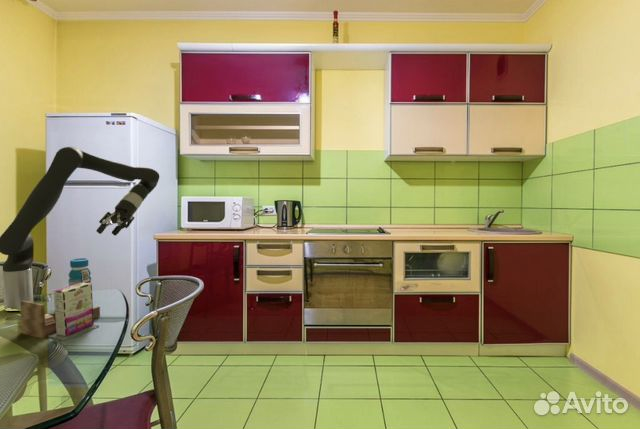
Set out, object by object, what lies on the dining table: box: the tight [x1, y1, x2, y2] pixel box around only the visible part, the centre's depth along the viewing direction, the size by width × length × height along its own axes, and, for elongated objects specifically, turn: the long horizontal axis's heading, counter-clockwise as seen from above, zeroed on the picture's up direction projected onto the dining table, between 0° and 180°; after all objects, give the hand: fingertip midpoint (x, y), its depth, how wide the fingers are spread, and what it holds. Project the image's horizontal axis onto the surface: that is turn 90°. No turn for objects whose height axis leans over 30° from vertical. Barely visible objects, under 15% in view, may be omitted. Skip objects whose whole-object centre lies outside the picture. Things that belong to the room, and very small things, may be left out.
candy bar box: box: [53, 282, 95, 336], centre depth 126 cm, size 11×5×16 cm, turn 165°
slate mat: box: [47, 323, 100, 342], centre depth 126 cm, size 8×13×1 cm, turn 161°
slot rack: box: [20, 300, 101, 340], centre depth 132 cm, size 11×22×12 cm, turn 161°
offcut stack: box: [45, 313, 55, 325], centre depth 125 cm, size 6×5×5 cm
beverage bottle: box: [68, 257, 92, 287], centre depth 155 cm, size 8×8×20 cm
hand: (105, 233), depth 141 cm, fingers open, 8 cm apart
